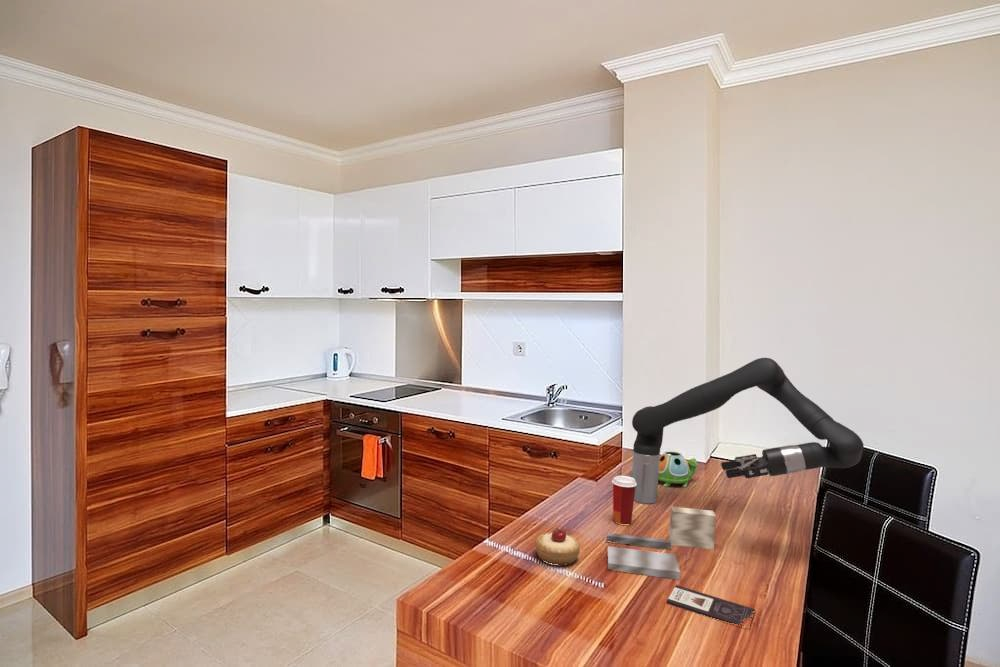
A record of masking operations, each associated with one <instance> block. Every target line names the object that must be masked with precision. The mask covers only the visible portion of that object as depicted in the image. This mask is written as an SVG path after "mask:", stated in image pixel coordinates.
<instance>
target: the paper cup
mask: <svg viewBox="0 0 1000 667" xmlns="http://www.w3.org/2000/svg"><path fill="white" fill-rule="evenodd" d="M611 483H612V515H613V517H612V518H613V520H614V521H615V522H617V523H620V524H630V523H631V524H632V519H633V511H634V504H635V501H634V497H635V488H636V485H637V483H636V480H635V479H634V478H632V477H629V475H628V476H627V475H616V476H614V477H613V478H612V480H611ZM613 520H612V521H613ZM614 521H613V522H614ZM615 522H614V523H615ZM631 524H630V525H631Z"/></svg>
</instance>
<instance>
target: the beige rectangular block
mask: <svg viewBox="0 0 1000 667" xmlns="http://www.w3.org/2000/svg"><path fill="white" fill-rule="evenodd" d="M669 518H670V519H669V534H668V535H669V536H668V540H670V541H671V546H680V547H689V548H695V549H696V548H697V549H706V550H715V540H716V539H715V538H716V527H717V526H716V525H717V524H716V523H717V515H716V513H715V512H714V510H709V509H708V510H707V509H699V508H690V507H689V508H688V507H678V506H670V517H669Z"/></svg>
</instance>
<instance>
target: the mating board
mask: <svg viewBox="0 0 1000 667" xmlns="http://www.w3.org/2000/svg"><path fill="white" fill-rule="evenodd" d="M607 541H611V542H617V543H623V544H622V545H625V544H631V545H630V546H633V545H637V546H636V547H642V546H644V547H645V548H652V549H659V550H669V551H671V550H672V545H671V541H670V540H669V539H665V538H656V537H646V536H645V537H644V536H636V535H627V534H620V533H613V532H607V533H606V542H607ZM606 554H607V555H606V557H607V556H608V559H607V570H608V569H611V570H618V571H624V572H630V573H629V574H631V573H636V574H635V575H639V574H643V575H642V576H647V575H648V576H647V577H656V578H663V579H664V578H665V579H672V580H673V579H674V580H679V581H680V579H681V578H680V577H681V571H680V567H679V565H678V564H679V563H678V560H677V557H676V554H675V553H668V552H657V551H650V550H641V549H635V548H634V549H632V548H625V547H618V546H617V547H615V546H609V545H608V546H607V552H606Z"/></svg>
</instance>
